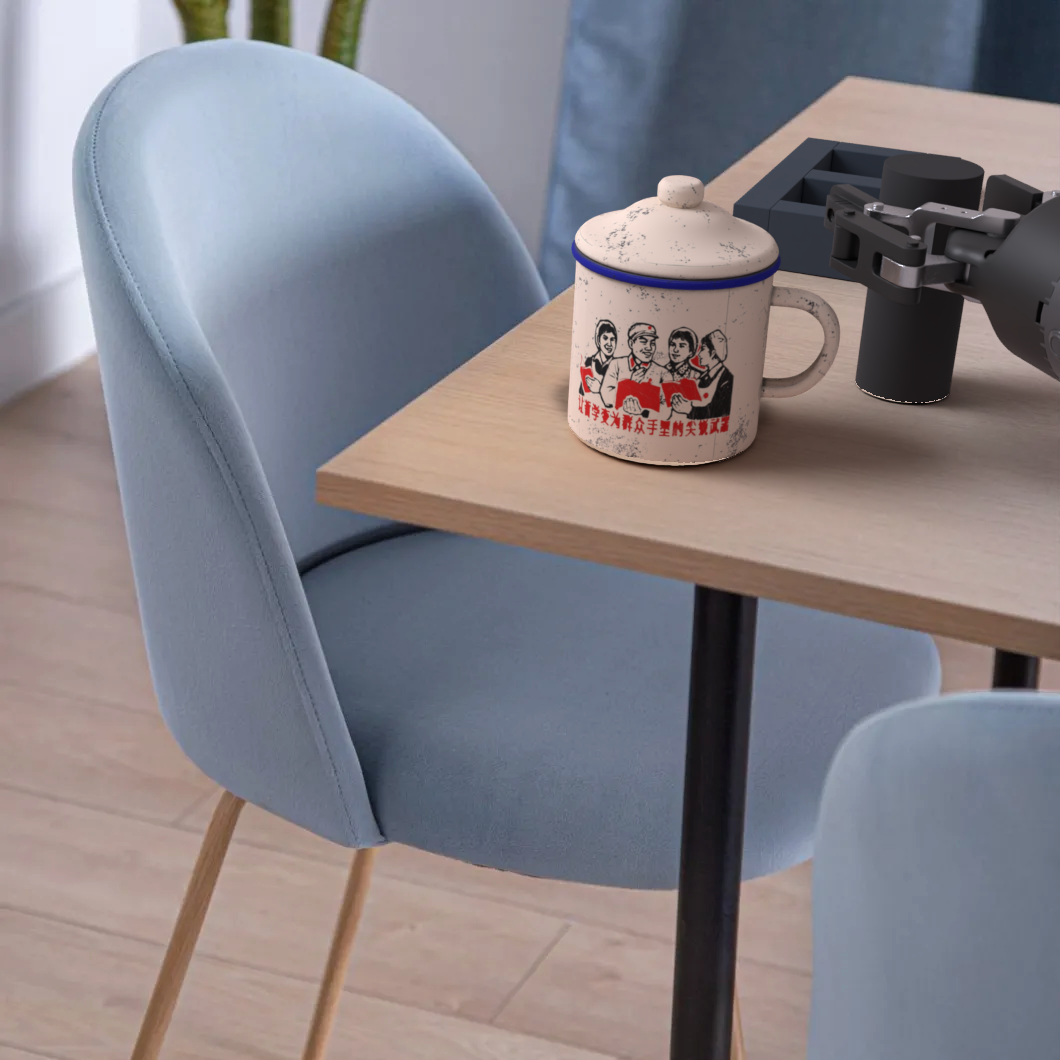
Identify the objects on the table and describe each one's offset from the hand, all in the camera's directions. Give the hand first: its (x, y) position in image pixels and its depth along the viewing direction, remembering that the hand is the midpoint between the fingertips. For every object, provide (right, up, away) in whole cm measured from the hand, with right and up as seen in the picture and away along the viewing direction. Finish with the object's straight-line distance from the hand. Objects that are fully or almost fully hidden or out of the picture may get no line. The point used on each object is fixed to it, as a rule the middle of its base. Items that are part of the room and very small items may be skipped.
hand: (913, 199), depth 84 cm
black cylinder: (0, -9, +3) cm, 9 cm away
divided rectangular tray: (+1, +3, +26) cm, 26 cm away
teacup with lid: (-11, -12, -4) cm, 16 cm away
